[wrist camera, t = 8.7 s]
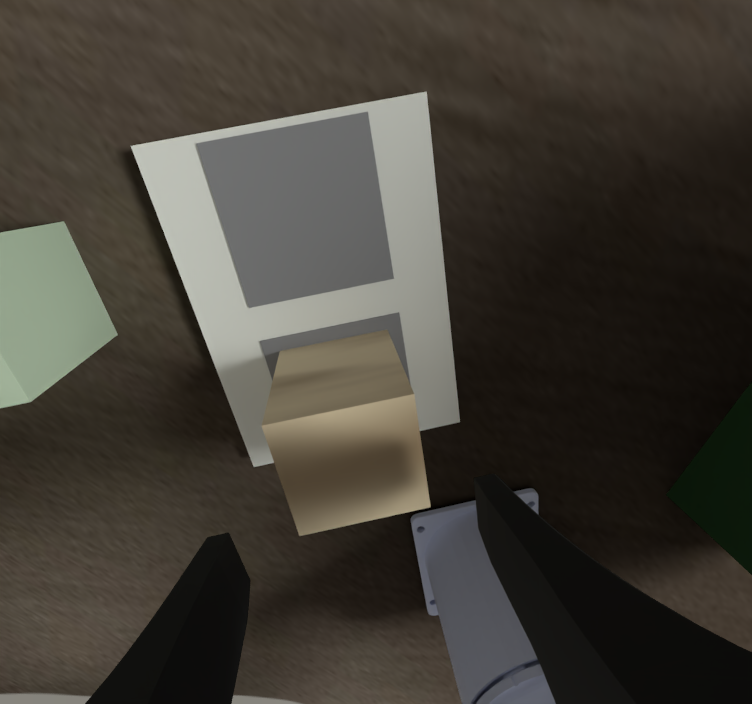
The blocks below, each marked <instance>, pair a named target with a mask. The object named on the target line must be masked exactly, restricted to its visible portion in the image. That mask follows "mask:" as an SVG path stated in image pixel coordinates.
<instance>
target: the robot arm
mask: <svg viewBox="0 0 752 704" xmlns="http://www.w3.org/2000/svg"><path fill="white" fill-rule="evenodd" d="M474 488H475V499H476V500H474V501H470V502H465V503H461V504H456V505H452V506H448V507H443V508H439V509H434V510H430V511H426V512H421V513H417V514H414V515H413V516H412V517H411V526H412V532H413V537H414V542H415V548H416V553H417V558H418V564H419V569H420V574H421V580H422V585H423V590H424V596H425V601H426V606H427V611H428V614H430V615H432V616H435V615H439V618H440V622H441V625H442V629H443V633H444V637H445V641H446V644H447V648H448V652H449V656H450V660H451V663H452V667H453V671H454V675H455V679H456V682H457V686H458V690H459V694H460V698H461V701H462V704H752V652H750V651H748V650H746V649H744V648H741V647H739V646H737V645H735V644H733V643H731V642H729V641H727V640H726V639H724V638H722V637H720V636H718V635H716V634H714V633H712V632H711V631H709V630H707V629H705V628H703V627H701V626H699V625H697V624H696V623H694V622H692V621H690V620H689V619H687V618H685V617H684V616H682V615H680V614H678V613H677V612H675V611H673V610H672V609H670V608H668V607H667V606H665V605H663V604H661V603H660V602H658V601H656V600H655V599H653V598H651V597H649V596H648V595H646V594H645V593H643V592H642V591H640V590H638V589H637V588H635V587H634V586H632V585H631V584H629V583H628V582H626V581H624V580H623V579H621V578H620V577H619V576H617V575H616V574H614V573H613V572H611V571H610V570H608V569H607V568H605V567H604V566H603V565H601V564H600V563H598V562H597V561H596V560H594V559H593V558H592V557H590V556H589V555H587V554H586V553H585V552H583V551H582V550H581V549H580V548H578V547H577V546H576V545H574V544H573V543H572V542H571V541H569V540H568V539H567V538H566V537H564V536H563V535H562V534H561V533H559V532H558V531H557V530H556V529H555V528H553V527H552V526H551V525H550V524H549V523H548V522H546V521H545V520H544V519H543V518H542V517H541V516H539V513H538V493H537V492H536V490H534V489H532V488H527V489H523V490H518V491H514V492H513V491H512V490H511V489H510V488H509V487H508V486H507V485H506V484H505V483H504V482H503V481H502V480H501V479H500V478H499V477H498V476H497V475H495V474H489V475H485V476H480V477H476V478H474ZM420 526H422V527H420ZM418 527H420V528H418ZM249 594H250V578H249V576H248V574H247V572H246V569H245V567H244V565H243V563H242V561H241V558H240V556H239V554H238V552H237V550H236V547H235V545H234V543H233V541H232V539H231V536H230V534H229V533H225V534H220V535H216V536H211V537H208V538H207V539H206V540H205V542H204V543H203V545H202V546H201V548H200V549H199V551H198V552H197V554H196V555H195V557H194V558H193V560H192V561H191V563H190V564H189V566H188V567H187V569H186V570H185V572H184V573H183V575H182V576H181V577H180V579H179V580H178V582H177V583H176V585H175V586H174V588H173V589H172V591H171V592H170V594H169V595H168V597H167V598H166V599H165V601H164V602H163V604H162V605H161V607H160V608H159V610H158V611H157V612H156V614H155V615H154V617H153V618H152V620H151V621H150V622H149V624H148V625H147V626H146V628H145V629H144V630H143V632H142V633H141V634H140V636H139V637H138V638H137V640H136V641H135V642H134V644H133V645H132V647H131V648H130V649H129V651H128V652H127V653H126V655H125V656H124V657H123V658H122V660H121V661H120V662H119V664H118V665H117V666H116V667H115V669H114V670H113V671H112V672H111V674H110V675H109V676H108V677H107V678H106V680H105V681H104V682H103V683H102V684H101V686H100V687H99V688H98V689H97V690H96V692H95V693H94V694H93V695H92V696H91V698H90V699H89V700H88V701H87V702H86V703H85V704H231V703H232V698H233V692H234V687H235V682H236V677H237V672H238V667H239V662H240V657H241V651H242V646H243V641H244V635H245V630H246V624H247V618H248V607H249Z"/></svg>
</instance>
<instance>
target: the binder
mask: <svg viewBox="0 0 752 704" xmlns="http://www.w3.org/2000/svg"><path fill="white" fill-rule="evenodd" d="M666 495H667V496H668V497H669V498H670V499H671V500H672V501H673V502H674V503H675V504H676V505H677V506H678V507H680V508H681V509H682V510H683V511H684V512H685V513H686V514H687V515H688V516H689V517H690V518H691V519H692V520H693V521H695V522H696V523H697V524H698V525H699V526H700V527H701V528H702V529H703V530H704V531H705V532H706V533H707V534H708V535H710V536H711V537H712V538H713V539H714V540H715V541H716V542H717V543H718V544H719V545H720V546H721V547H722V548H724V549H725V550H726V551H727V552H728V553H729V554H730V555H731V556H732V557H733V558H734V559H735V560H736V561H737V562H739V563H740V564H741V565H742V566H743V567H744V568H745V569H746V570H747V571H748V572H749V573H750V574H751V575H752V382H751V383H750V385H749V386H748V387H747V389H746V390H745V391H744V393H743V394H742V395H741V396H740V398H739V399H738V400H737V402H736V403H735V404H734V406H733V407H732V408H731V410H730V411H729V412H728V414H727V415H726V416H725V418H724V419H723V420H722V422H721V423H720V424H719V426H718V427H717V428H716V429H715V431H714V432H713V433H712V435H711V436H710V437H709V439H708V440H707V441H706V443H705V444H704V445H703V447H702V448H701V449H700V451H699V452H698V453H697V455H696V456H695V457H694V459H693V460H692V461H691V463H690V464H689V465H688V466H687V468H686V469H685V470H684V472H683V473H682V474H681V476H680V477H679V478H678V480H677V481H676V482H675V484H674V485H673V486H672V488H671V489H670V490H669V492H668V493H667V494H666Z"/></svg>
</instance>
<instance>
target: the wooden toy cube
mask: <svg viewBox="0 0 752 704" xmlns="http://www.w3.org/2000/svg"><path fill="white" fill-rule="evenodd" d="M262 429H263V432H264V435H265V438H266V440H267V443H268V446H269V449H270V452H271V455H272V458H273V461H274V464H275V466H276V469H277V472H278V475H279V478H280V481H281V484H282V487H283V490H284V493H285V495H286V498H287V501H288V504H289V507H290V510H291V513H292V516H293V519H294V522H295V524H296V527H297V530H298V533H299V536H303V535H307V534H312V533H316V532H321V531H325V530H330V529H334V528H339V527H343V526H348V525H352V524H357V523H361V522H366V521H371V520H375V519H380V518H384V517H389V516H393V515H398V514H402V513H407V512H411V511H416V510H420V509H425V508H429V507H431V505H430V498H429V492H428V485H427V478H426V471H425V464H424V457H423V451H422V444H421V437H420V430H419V423H418V416H417V410H416V403H415V396H414V392H413V390H412V387H411V385H410V383H409V380H408V378H407V375H406V373H405V371H404V368H403V366H402V363H401V361H400V359H399V356H398V354H397V351H396V349H395V347H394V344H393V342H392V339H391V337H390V335H389V332H388V330H382V331H377V332H372V333H367V334H362V335H357V336H352V337H347V338H342V339H337V340H332V341H327V342H322V343H317V344H312V345H307V346H303V347H298V348H293V349H288V350H283V351H280V352H279V357H278V361H277V365H276V369H275V373H274V377H273V381H272V385H271V389H270V393H269V397H268V401H267V405H266V409H265V414H264V418H263V422H262Z"/></svg>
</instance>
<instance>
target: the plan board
mask: <svg viewBox="0 0 752 704" xmlns="http://www.w3.org/2000/svg"><path fill="white" fill-rule="evenodd" d="M131 148H132V151H133V153H134V156H135V159H136V161H137V164H138V167H139V169H140V172H141V174H142V177H143V180H144V182H145V185H146V187H147V190H148V193H149V195H150V198H151V200H152V203H153V206H154V208H155V211H156V213H157V216H158V219H159V221H160V224H161V227H162V229H163V232H164V234H165V237H166V240H167V242H168V245H169V247H170V250H171V253H172V255H173V258H174V260H175V263H176V266H177V268H178V271H179V273H180V276H181V279H182V281H183V284H184V287H185V289H186V292H187V294H188V297H189V300H190V302H191V305H192V307H193V310H194V313H195V315H196V318H197V320H198V323H199V326H200V328H201V331H202V333H203V336H204V339H205V341H206V344H207V347H208V349H209V352H210V354H211V357H212V360H213V362H214V365H215V367H216V370H217V373H218V375H219V378H220V380H221V383H222V386H223V388H224V391H225V393H226V396H227V399H228V401H229V404H230V407H231V409H232V412H233V414H234V417H235V420H236V422H237V425H238V427H239V430H240V433H241V435H242V438H243V440H244V443H245V446H246V448H247V451H248V453H249V456H250V459H251V461H252V464H253V467H257V466H261V465H266V464H271V463H274V461H273V458H272V455H271V452H270V449H269V446H268V443H267V440H266V438H265V435H264V432H263V429H262V422H263V418H264V414H265V409H266V405H267V401H268V397H269V393H270V389H271V385H272V381H273V377H274V373H275V369H276V365H277V361H278V357H279V352H280V351H283V350H288V349H293V348H298V347H303V346H307V345H312V344H317V343H322V342H327V341H332V340H337V339H342V338H347V337H352V336H357V335H362V334H367V333H372V332H377V331H382V330H388V332H389V335H390V337H391V339H392V342H393V344H394V347H395V349H396V351H397V354H398V356H399V359H400V361H401V363H402V366H403V368H404V371H405V373H406V375H407V378H408V380H409V383H410V385H411V387H412V390H413V392H414V396H415V403H416V410H417V416H418V423H419V430H420V431H422V430H427V429H431V428H436V427H440V426H445V425H450V424H454V423H459V422H460V416H459V406H458V396H457V386H456V376H455V366H454V356H453V347H452V337H451V327H450V317H449V307H448V297H447V287H446V278H445V268H444V258H443V248H442V238H441V228H440V218H439V209H438V199H437V189H436V179H435V169H434V159H433V149H432V140H431V130H430V120H429V110H428V100H427V92H421V93H416V94H411V95H405V96H400V97H394V98H389V99H383V100H378V101H373V102H367V103H362V104H356V105H351V106H345V107H340V108H335V109H329V110H324V111H318V112H313V113H307V114H302V115H297V116H291V117H286V118H280V119H275V120H269V121H264V122H259V123H253V124H248V125H242V126H237V127H232V128H226V129H221V130H215V131H210V132H204V133H199V134H194V135H188V136H183V137H177V138H172V139H166V140H161V141H156V142H150V143H145V144H139V145H134V146H131Z"/></svg>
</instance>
